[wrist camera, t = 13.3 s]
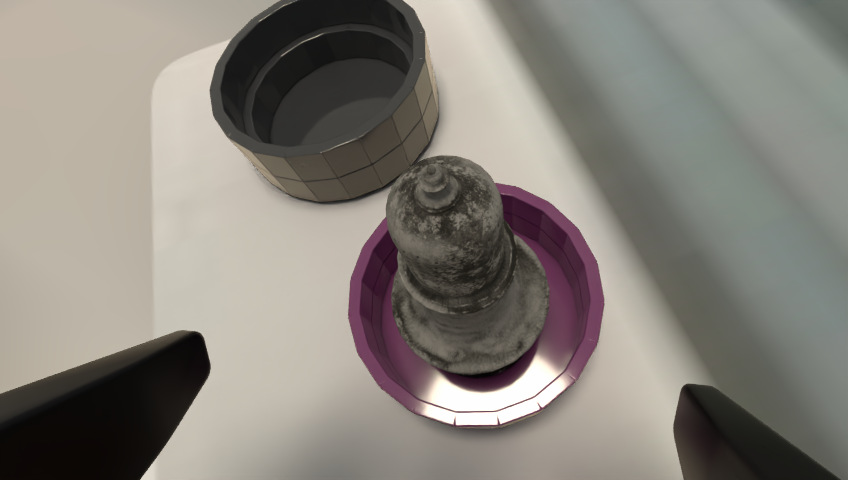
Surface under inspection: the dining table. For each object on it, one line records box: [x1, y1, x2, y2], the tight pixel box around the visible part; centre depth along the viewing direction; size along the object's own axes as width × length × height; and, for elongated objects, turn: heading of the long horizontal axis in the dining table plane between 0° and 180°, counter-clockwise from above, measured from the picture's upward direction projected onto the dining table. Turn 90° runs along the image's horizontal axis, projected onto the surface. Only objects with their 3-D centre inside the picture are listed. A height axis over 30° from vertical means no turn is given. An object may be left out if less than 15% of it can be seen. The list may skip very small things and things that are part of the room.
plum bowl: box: [348, 183, 604, 429], centre depth 18 cm, size 10×10×4 cm
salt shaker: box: [386, 156, 550, 378], centre depth 14 cm, size 6×6×12 cm
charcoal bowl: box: [210, 0, 438, 202], centre depth 24 cm, size 11×11×4 cm
